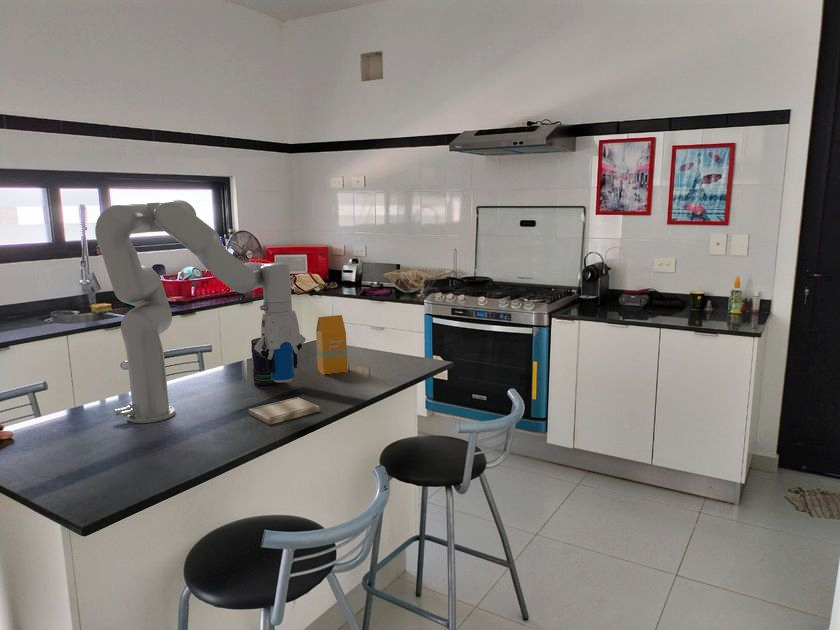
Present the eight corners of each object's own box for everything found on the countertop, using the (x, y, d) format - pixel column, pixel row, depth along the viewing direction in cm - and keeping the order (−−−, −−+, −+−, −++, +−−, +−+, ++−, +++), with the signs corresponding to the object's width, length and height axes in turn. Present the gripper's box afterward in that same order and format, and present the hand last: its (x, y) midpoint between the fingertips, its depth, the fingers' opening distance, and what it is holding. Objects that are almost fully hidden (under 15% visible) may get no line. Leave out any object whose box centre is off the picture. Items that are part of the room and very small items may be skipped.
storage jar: (276, 388, 202) (273, 343, 200) (248, 387, 204) (245, 342, 202) (288, 380, 212) (286, 337, 209) (261, 378, 214) (259, 336, 211)
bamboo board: (269, 424, 169) (268, 419, 169) (248, 414, 178) (248, 408, 178) (319, 411, 180) (319, 405, 179) (298, 401, 188) (297, 396, 188)
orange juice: (317, 370, 224) (314, 315, 220) (341, 367, 228) (338, 313, 224) (323, 375, 217) (321, 319, 213) (347, 372, 221) (345, 316, 217)
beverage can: (291, 383, 174) (289, 341, 172) (268, 383, 174) (265, 341, 172) (296, 376, 180) (294, 336, 178) (274, 377, 180) (271, 336, 178)
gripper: (255, 313, 165) (260, 378, 168) (312, 304, 176) (315, 366, 179) (243, 309, 171) (247, 373, 174) (298, 302, 182) (302, 361, 185)
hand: (282, 369), depth 177 cm, fingers closed on beverage can, 6 cm apart
